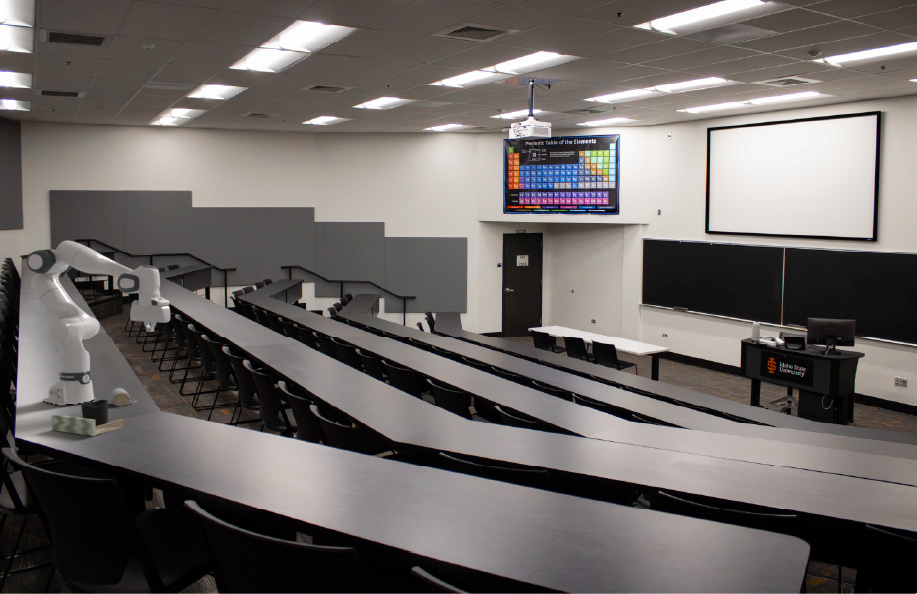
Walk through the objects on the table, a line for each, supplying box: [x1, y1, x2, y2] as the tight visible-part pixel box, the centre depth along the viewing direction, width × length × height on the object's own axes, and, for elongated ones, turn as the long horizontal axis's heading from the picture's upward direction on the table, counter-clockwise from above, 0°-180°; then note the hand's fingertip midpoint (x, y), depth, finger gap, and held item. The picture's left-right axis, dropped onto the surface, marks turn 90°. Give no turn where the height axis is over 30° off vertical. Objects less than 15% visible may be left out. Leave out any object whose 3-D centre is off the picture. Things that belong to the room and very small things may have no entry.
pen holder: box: [80, 399, 109, 426], centre depth 275 cm, size 9×9×10 cm
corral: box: [51, 414, 125, 437], centre depth 273 cm, size 21×15×6 cm
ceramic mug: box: [108, 387, 138, 407], centre depth 313 cm, size 11×8×8 cm
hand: (150, 331), depth 312 cm, fingers closed
